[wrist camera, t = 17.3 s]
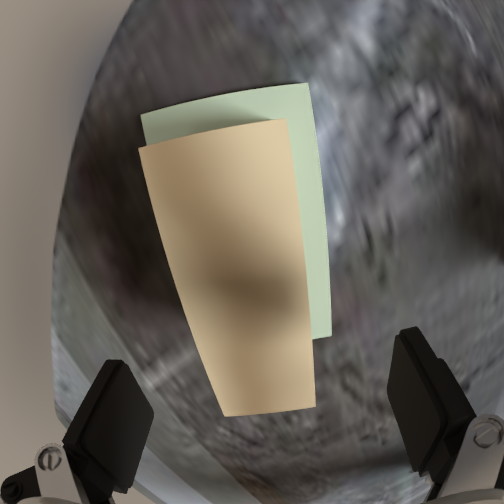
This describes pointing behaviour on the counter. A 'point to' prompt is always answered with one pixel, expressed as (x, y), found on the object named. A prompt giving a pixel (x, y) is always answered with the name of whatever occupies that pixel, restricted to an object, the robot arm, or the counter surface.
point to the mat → (304, 161)
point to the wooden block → (238, 260)
